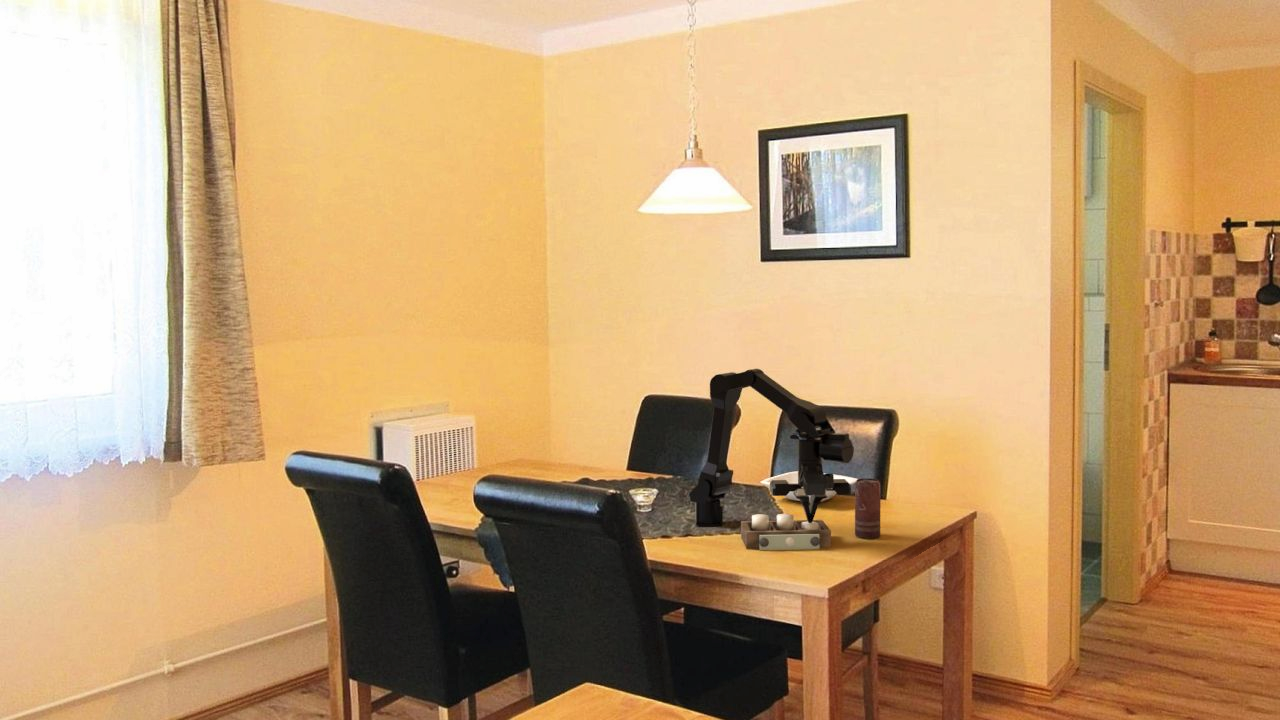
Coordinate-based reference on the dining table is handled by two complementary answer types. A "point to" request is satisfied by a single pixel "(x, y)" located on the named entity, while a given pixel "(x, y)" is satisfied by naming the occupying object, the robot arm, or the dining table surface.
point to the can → (867, 508)
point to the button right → (809, 526)
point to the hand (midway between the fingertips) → (809, 522)
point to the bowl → (793, 479)
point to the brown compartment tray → (783, 533)
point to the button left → (760, 522)
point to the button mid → (785, 521)
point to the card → (789, 542)
